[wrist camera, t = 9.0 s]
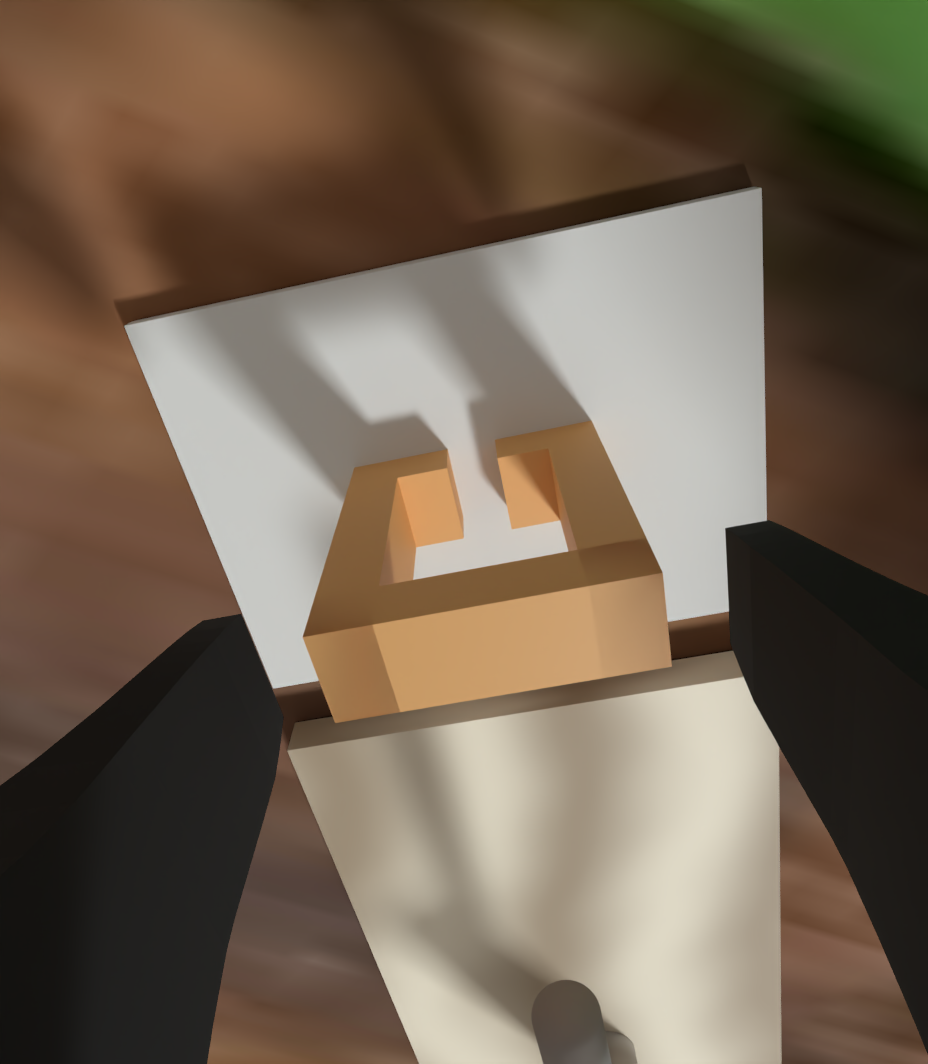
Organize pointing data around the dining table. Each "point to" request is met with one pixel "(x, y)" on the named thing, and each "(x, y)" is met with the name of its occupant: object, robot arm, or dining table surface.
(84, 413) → the dining table surface
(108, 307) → the dining table surface
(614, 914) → the hook stand
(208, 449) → the grey mat
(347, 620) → the c link
